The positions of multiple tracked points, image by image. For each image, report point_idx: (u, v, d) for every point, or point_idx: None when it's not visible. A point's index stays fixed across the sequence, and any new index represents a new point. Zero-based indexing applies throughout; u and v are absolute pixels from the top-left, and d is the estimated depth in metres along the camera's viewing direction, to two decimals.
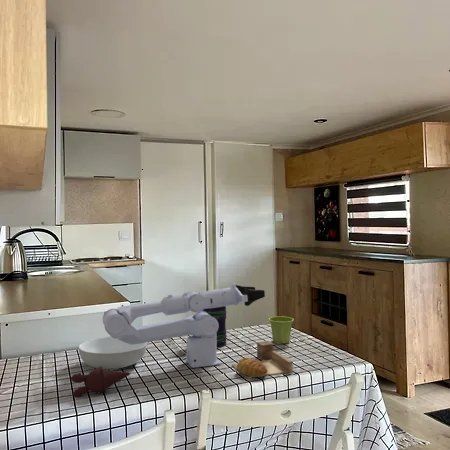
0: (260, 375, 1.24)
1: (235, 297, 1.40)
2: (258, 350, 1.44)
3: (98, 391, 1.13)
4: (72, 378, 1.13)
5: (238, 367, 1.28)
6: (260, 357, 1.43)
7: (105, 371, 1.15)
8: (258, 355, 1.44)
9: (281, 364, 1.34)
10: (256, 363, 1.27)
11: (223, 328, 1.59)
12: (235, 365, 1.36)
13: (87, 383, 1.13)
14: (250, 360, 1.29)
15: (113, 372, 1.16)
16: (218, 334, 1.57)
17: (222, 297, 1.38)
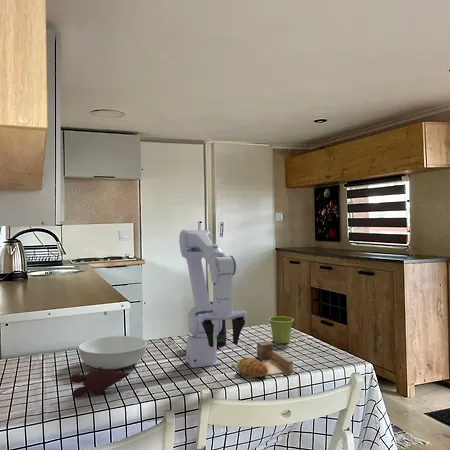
0: (260, 375, 1.24)
1: (213, 312, 1.25)
2: (258, 350, 1.44)
3: (97, 391, 1.13)
4: (71, 378, 1.12)
5: (238, 367, 1.29)
6: (260, 357, 1.43)
7: (104, 371, 1.15)
8: (258, 355, 1.44)
9: (281, 364, 1.34)
10: (256, 363, 1.28)
11: (223, 328, 1.59)
12: (235, 365, 1.36)
13: (86, 383, 1.12)
14: (250, 360, 1.29)
15: (112, 372, 1.16)
16: (218, 334, 1.57)
17: (214, 297, 1.24)
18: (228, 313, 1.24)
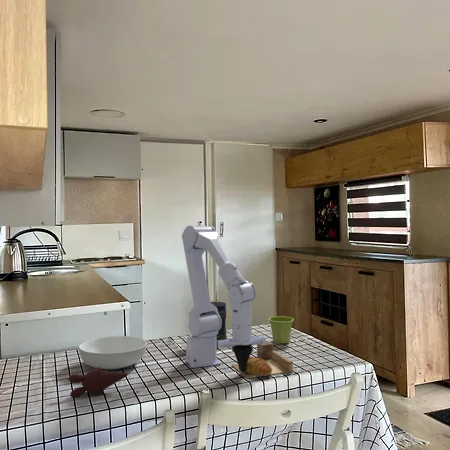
0: (264, 374, 1.25)
1: (232, 338, 1.27)
2: (258, 350, 1.44)
3: (95, 392, 1.12)
4: (69, 378, 1.12)
5: None
6: (260, 357, 1.43)
7: (103, 372, 1.14)
8: (258, 355, 1.44)
9: (281, 364, 1.34)
10: (261, 362, 1.28)
11: (223, 328, 1.59)
12: (235, 365, 1.36)
13: (84, 384, 1.12)
14: (255, 359, 1.30)
15: (111, 373, 1.15)
16: (218, 334, 1.57)
17: (236, 324, 1.25)
18: (247, 340, 1.25)
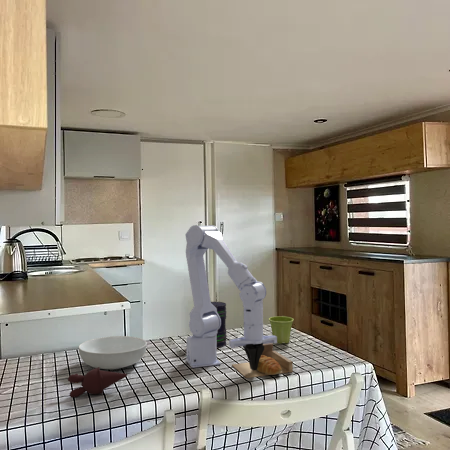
0: (272, 373, 1.26)
1: (244, 337, 1.28)
2: None
3: (95, 392, 1.12)
4: (69, 379, 1.12)
5: None
6: None
7: (102, 372, 1.14)
8: None
9: (281, 364, 1.34)
10: (271, 361, 1.29)
11: (223, 328, 1.59)
12: (235, 365, 1.36)
13: (84, 384, 1.12)
14: (266, 358, 1.31)
15: (110, 373, 1.15)
16: (218, 334, 1.57)
17: (249, 323, 1.26)
18: (259, 338, 1.27)
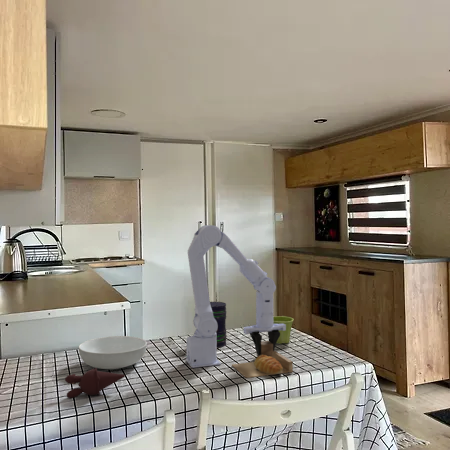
0: (274, 373, 1.26)
1: (256, 324, 1.43)
2: None
3: (92, 393, 1.12)
4: (66, 379, 1.12)
5: (255, 363, 1.32)
6: None
7: (99, 373, 1.14)
8: (258, 355, 1.44)
9: (281, 364, 1.34)
10: (272, 361, 1.30)
11: (223, 328, 1.59)
12: (235, 365, 1.36)
13: (81, 384, 1.12)
14: (267, 357, 1.31)
15: (107, 374, 1.14)
16: (218, 334, 1.57)
17: (269, 312, 1.42)
18: (270, 326, 1.42)
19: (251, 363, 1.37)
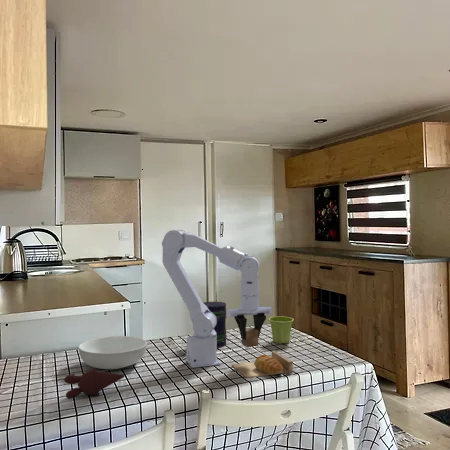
0: (274, 373, 1.26)
1: (241, 307, 1.37)
2: None
3: (91, 393, 1.11)
4: (65, 379, 1.12)
5: (255, 363, 1.32)
6: (245, 344, 1.36)
7: (98, 373, 1.14)
8: (243, 342, 1.38)
9: None
10: (272, 360, 1.30)
11: (223, 328, 1.59)
12: (235, 365, 1.36)
13: (80, 385, 1.11)
14: (267, 357, 1.32)
15: (107, 374, 1.14)
16: (218, 334, 1.57)
17: (251, 294, 1.35)
18: (255, 309, 1.35)
19: (251, 363, 1.37)
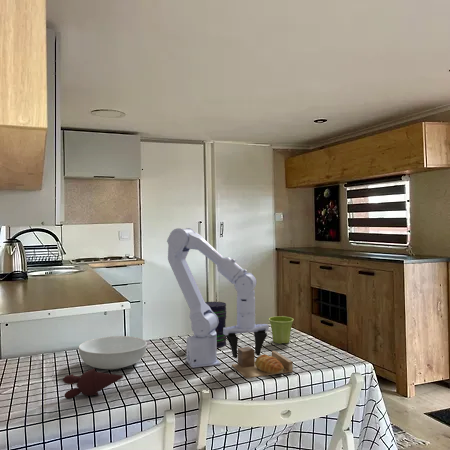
0: (275, 372, 1.27)
1: (237, 325, 1.35)
2: (238, 357, 1.36)
3: (89, 393, 1.11)
4: (64, 379, 1.12)
5: (256, 363, 1.32)
6: (241, 364, 1.34)
7: (97, 373, 1.13)
8: (239, 362, 1.36)
9: None
10: (273, 360, 1.30)
11: None
12: (235, 365, 1.36)
13: (78, 385, 1.11)
14: (268, 357, 1.32)
15: (105, 374, 1.14)
16: (218, 334, 1.57)
17: (245, 312, 1.33)
18: (251, 327, 1.33)
19: None
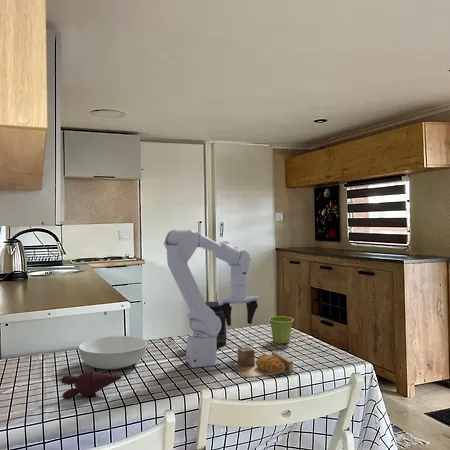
0: (277, 372, 1.27)
1: (231, 296, 1.49)
2: (238, 357, 1.36)
3: (87, 394, 1.11)
4: (62, 380, 1.11)
5: (257, 363, 1.32)
6: (241, 364, 1.34)
7: (95, 374, 1.13)
8: (239, 362, 1.36)
9: None
10: (274, 360, 1.30)
11: (223, 328, 1.59)
12: (235, 365, 1.36)
13: (76, 385, 1.11)
14: (269, 357, 1.32)
15: (104, 375, 1.14)
16: (218, 334, 1.57)
17: (245, 284, 1.48)
18: (243, 297, 1.47)
19: None
